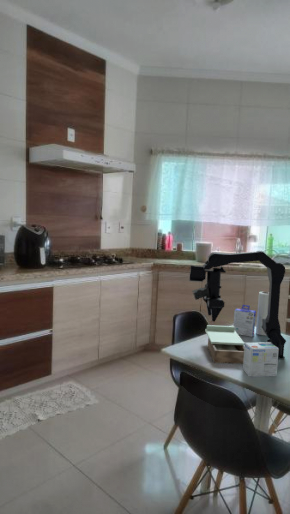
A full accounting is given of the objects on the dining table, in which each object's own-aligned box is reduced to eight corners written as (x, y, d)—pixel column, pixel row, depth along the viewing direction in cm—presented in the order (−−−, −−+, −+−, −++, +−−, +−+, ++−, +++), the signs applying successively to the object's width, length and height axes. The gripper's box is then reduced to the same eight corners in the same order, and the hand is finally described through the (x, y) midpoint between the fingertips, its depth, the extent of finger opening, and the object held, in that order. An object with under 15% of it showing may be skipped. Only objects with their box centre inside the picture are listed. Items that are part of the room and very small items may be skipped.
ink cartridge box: (254, 334, 173) (256, 306, 171) (252, 337, 168) (255, 308, 166) (234, 330, 177) (236, 303, 175) (232, 333, 172) (234, 305, 170)
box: (237, 349, 151) (238, 338, 150) (247, 364, 135) (248, 352, 134) (207, 347, 151) (208, 336, 150) (214, 362, 135) (215, 350, 134)
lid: (234, 332, 157) (235, 326, 157) (244, 345, 141) (245, 338, 140) (205, 330, 157) (205, 324, 157) (211, 343, 141) (211, 337, 141)
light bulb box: (268, 368, 132) (270, 341, 131) (277, 376, 125) (279, 348, 124) (241, 369, 130) (243, 341, 129) (249, 377, 124) (251, 348, 122)
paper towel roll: (253, 332, 175) (256, 291, 173) (262, 331, 178) (265, 291, 175) (263, 337, 169) (267, 294, 166) (272, 336, 171) (276, 293, 169)
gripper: (191, 278, 154) (189, 311, 156) (197, 285, 136) (195, 324, 137) (216, 279, 154) (214, 312, 156) (225, 286, 136) (223, 325, 137)
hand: (211, 318), depth 147 cm, fingers open, 9 cm apart
